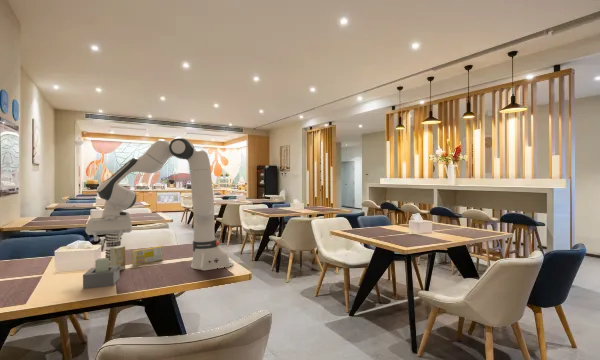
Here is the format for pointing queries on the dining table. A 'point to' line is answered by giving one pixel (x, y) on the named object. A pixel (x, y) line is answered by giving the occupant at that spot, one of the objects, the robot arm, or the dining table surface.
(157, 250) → the candy box
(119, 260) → the skincare box
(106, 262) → the sage post
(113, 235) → the decorative candle
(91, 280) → the block
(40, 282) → the dining table surface
